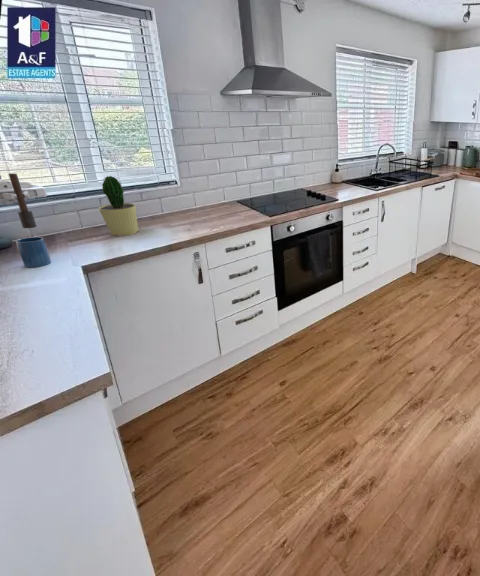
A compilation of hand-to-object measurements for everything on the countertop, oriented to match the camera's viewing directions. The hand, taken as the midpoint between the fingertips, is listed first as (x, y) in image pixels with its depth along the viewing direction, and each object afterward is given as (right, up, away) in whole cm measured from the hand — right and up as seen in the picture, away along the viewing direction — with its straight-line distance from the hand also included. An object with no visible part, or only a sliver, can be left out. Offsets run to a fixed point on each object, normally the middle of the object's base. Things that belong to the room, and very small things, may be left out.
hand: (20, 196), depth 138 cm
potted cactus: (+3, -7, +52) cm, 53 cm away
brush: (-1, -11, +5) cm, 12 cm away
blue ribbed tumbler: (-1, -25, +8) cm, 26 cm away
